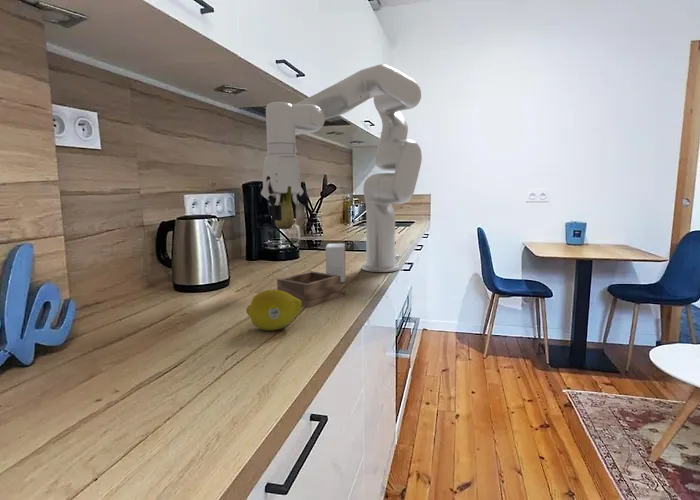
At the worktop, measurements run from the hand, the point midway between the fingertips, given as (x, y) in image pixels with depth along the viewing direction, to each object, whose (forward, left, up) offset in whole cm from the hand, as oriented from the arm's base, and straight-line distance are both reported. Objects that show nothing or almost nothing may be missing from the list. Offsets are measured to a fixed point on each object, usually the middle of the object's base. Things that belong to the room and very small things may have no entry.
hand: (284, 218), depth 117 cm
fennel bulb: (0, 0, -3) cm, 3 cm away
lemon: (+26, +24, -19) cm, 40 cm away
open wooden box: (+4, +13, -19) cm, 23 cm away
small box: (-15, +6, -19) cm, 25 cm away
